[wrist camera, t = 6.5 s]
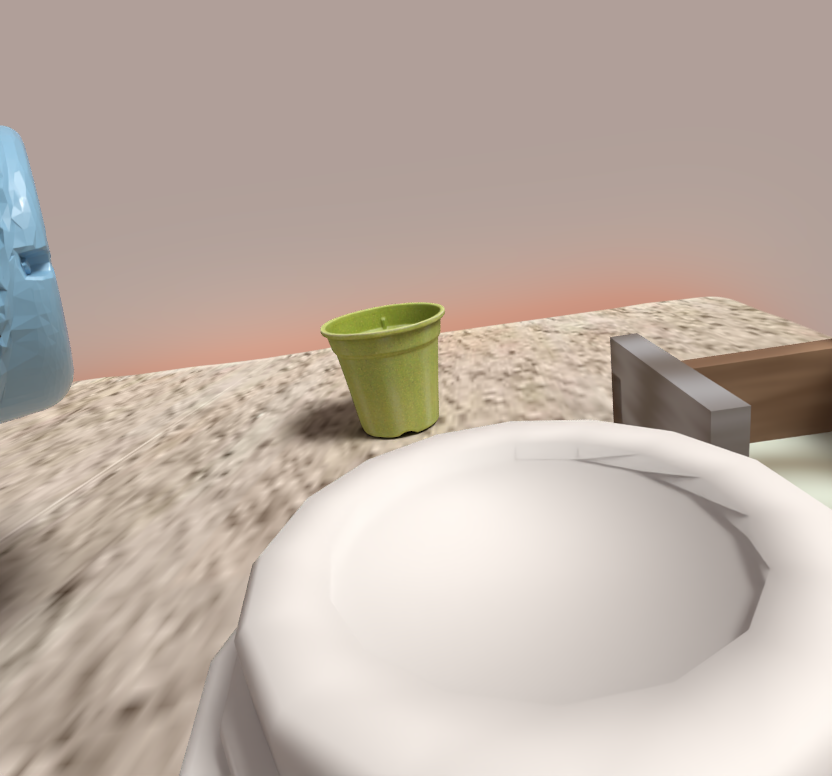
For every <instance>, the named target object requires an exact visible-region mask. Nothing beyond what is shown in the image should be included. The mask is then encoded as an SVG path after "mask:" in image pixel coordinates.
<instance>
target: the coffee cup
mask: <svg viewBox="0 0 832 776" xmlns="http://www.w3.org/2000/svg"><path fill="white" fill-rule="evenodd" d="M179 776H832V510H831V509H830V508H828V507H827V506H825V505H824V504H822V503H821V502H819V501H818V500H816V499H815V498H813V497H812V496H810V495H809V494H807V493H806V492H804V491H803V490H801V489H800V488H798V487H797V486H795V485H794V484H792V483H791V482H789V481H788V480H786V479H785V478H783V477H782V476H780V475H778V474H777V473H775V472H774V471H772V470H771V469H769V468H768V467H766V466H765V465H763V464H762V463H760V462H759V461H757V460H755V459H752V458H749V457H747V456H744V455H741V454H738V453H735V452H732V451H729V450H726V449H723V448H720V447H717V446H714V445H711V444H709V443H706V442H703V441H700V440H697V439H694V438H691V437H688V436H685V435H682V434H679V433H676V432H673V431H667V430H660V429H652V428H645V427H638V426H631V425H624V424H617V423H610V422H603V421H596V420H550V421H510V422H504V423H499V424H493V425H488V426H482V427H476V428H471V429H465V430H460V431H454V432H448V433H443V434H437V435H434V436H431V437H429V438H426V439H423V440H421V441H418V442H415V443H412V444H410V445H407V446H404V447H401V448H399V449H396V450H393V451H390V452H388V453H385V454H382V455H380V456H377V457H374V458H371V459H369V460H367V461H365V462H364V463H362V464H360V465H359V466H357V467H356V468H354V469H353V470H351V471H349V472H348V473H346V474H345V475H343V476H342V477H340V478H338V479H337V480H335V481H334V482H332V483H331V484H329V485H327V486H326V487H324V488H323V489H321V490H320V491H318V492H316V493H315V494H313V495H312V496H310V497H309V498H307V499H306V501H305V502H304V503H303V504H302V505H301V507H300V508H299V509H298V510H297V511H296V513H295V514H294V515H293V516H292V517H291V519H290V520H289V521H288V522H287V523H286V525H285V526H284V527H283V528H282V529H281V531H280V532H279V533H278V534H277V535H276V537H275V538H274V539H273V540H272V541H271V543H270V544H269V545H268V546H267V548H266V549H265V550H264V551H263V552H262V554H261V555H260V556H259V557H258V558H257V560H256V561H255V562H254V563H253V565H252V569H251V573H250V577H249V581H248V585H247V590H246V594H245V598H244V602H243V606H242V610H241V614H240V618H239V623H238V626H237V628H236V629H235V630H234V632H233V633H232V634H231V636H230V637H229V638H228V640H227V641H226V642H225V644H224V645H223V646H222V648H221V649H220V650H219V652H218V653H217V654H216V656H215V657H214V658H213V660H212V661H211V664H210V667H209V671H208V675H207V678H206V682H205V685H204V689H203V692H202V696H201V700H200V703H199V707H198V710H197V714H196V717H195V721H194V724H193V728H192V732H191V735H190V739H189V742H188V746H187V749H186V753H185V757H184V760H183V764H182V767H181V771H180V774H179Z"/></svg>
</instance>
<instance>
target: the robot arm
mask: <svg viewBox="0 0 832 776" xmlns="http://www.w3.org/2000/svg"><path fill="white" fill-rule="evenodd" d="M50 258H51V255H50V251H49V247H48V242H47V238H46V231H45V226H44V222H43V217H42V213H41V209H40V204H39V200H38V196H37V192H36V188H35V184H34V180H33V176H32V172H31V168H30V164H29V161H28V156H27V153H26V150H25V146H24V143H23V141H22V139H21V137H20V135H19V134H18V133H17V132H16V131H15V130H13V129H11V128H10V127H6V126H0V424H1V423H5V422H8V421H11V420H14V419H17V418H20V417H24V416H27V415H30V414H33V413H36V412H39V411H43V410H45V409H48V408H50V407H52V406H54V405H55V404H57V403H58V402H59V401H61V400H62V399H63V398H64V397H65V395H66V394H67V392H68V391H69V389H70V387H71V385H72V381H73V375H74V367H73V360H72V353H71V347H70V342H69V337H68V331H67V327H66V322H65V317H64V313H63V308H62V303H61V298H60V294H59V290H58V286H57V281H56V277H55V273H54V269H53V267H52V263H51V259H50Z"/></svg>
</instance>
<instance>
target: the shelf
mask: <svg viewBox="0 0 832 776" xmlns="http://www.w3.org/2000/svg"><path fill="white" fill-rule="evenodd" d="M610 345H611V369H612V392H613V415H614V423H617V424H624V425H631V426H638V427H645V428H652V429H660V430H667V431H673V432H676V433H679V434H682V435H685V436H688V437H691V438H694V439H697V440H700V441H703V442H706V443H709V444H711V445H714V446H717V447H720V448H723V449H726V450H729V451H732V452H735V453H738V454H741V455H744V456H747V457H749V458H752V459H755V460H757V461H759V462H760V463H762V464H763V465H765V466H766V467H768V468H769V469H771V470H772V471H774V472H775V473H777V474H778V475H780V476H782V477H783V478H785V479H786V480H788V481H789V482H791V483H792V484H794V485H795V486H797V487H798V488H800V489H801V490H803V491H804V492H806V493H807V494H809V495H810V496H812V497H813V498H815V499H816V500H818V501H819V502H821V503H822V504H824V505H825V506H827V507H828V508H830V509H831V510H832V339H827V340H820V341H813V342H806V343H800V344H793V345H786V346H779V347H772V348H765V349H759V350H752V351H745V352H738V353H731V354H725V355H718V356H711V357H704V358H697V359H691V360H684V361H680V360H678V359H677V358H675V357H674V356H672V355H670V354H669V353H667V352H666V351H664V350H663V349H661V348H659V347H658V346H656V345H655V344H653V343H651V342H650V341H648V340H647V339H645V338H644V337H642V336H640V335H639V334H637V333H636V334H629V335H622V336H615V337H610Z"/></svg>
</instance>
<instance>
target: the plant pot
mask: <svg viewBox="0 0 832 776" xmlns="http://www.w3.org/2000/svg"><path fill="white" fill-rule="evenodd" d="M444 313H445V309H444V307H443V306H442V305H439V304H433V303H424V302H418V303H403V304H393V305H386V306H380V307H375V308H370V309H365V310H361V311H357V312H354V313H350V314H346V315H343V316H340V317H338V318H335V319H333V320H330V321H328V322H326V323H325V324H324V325H322V327H321V329H320V330H321V334H322V335H323V336H324V337H326V338H328V340H329V343H330V345H331V348H332V350H333V352H334V353H335V354H336V355H337V357H338V359H339V362H340V365H341V368H342V371H343V373H344V376H345V379H346V382H347V385H348V387H349V390H350V393H351V396H352V399H353V402H354V405H355V408H356V411H357V414H358V417H359V420H360V422H361V425H362V427H363V429H364V430H365V432H366V433H367V434H369V435H372V436H377V437H387V438H390V437H398V436H400V435H401V434H403V433H404V432H407V431H415V432H419V431H422V430H424V429H426V428H428V427H430V426H431V425H433V424H434V423H435V422H436V421H437V419H438V417H439V398H438V336H439V334H440V318H442V317H443V315H444Z"/></svg>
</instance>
